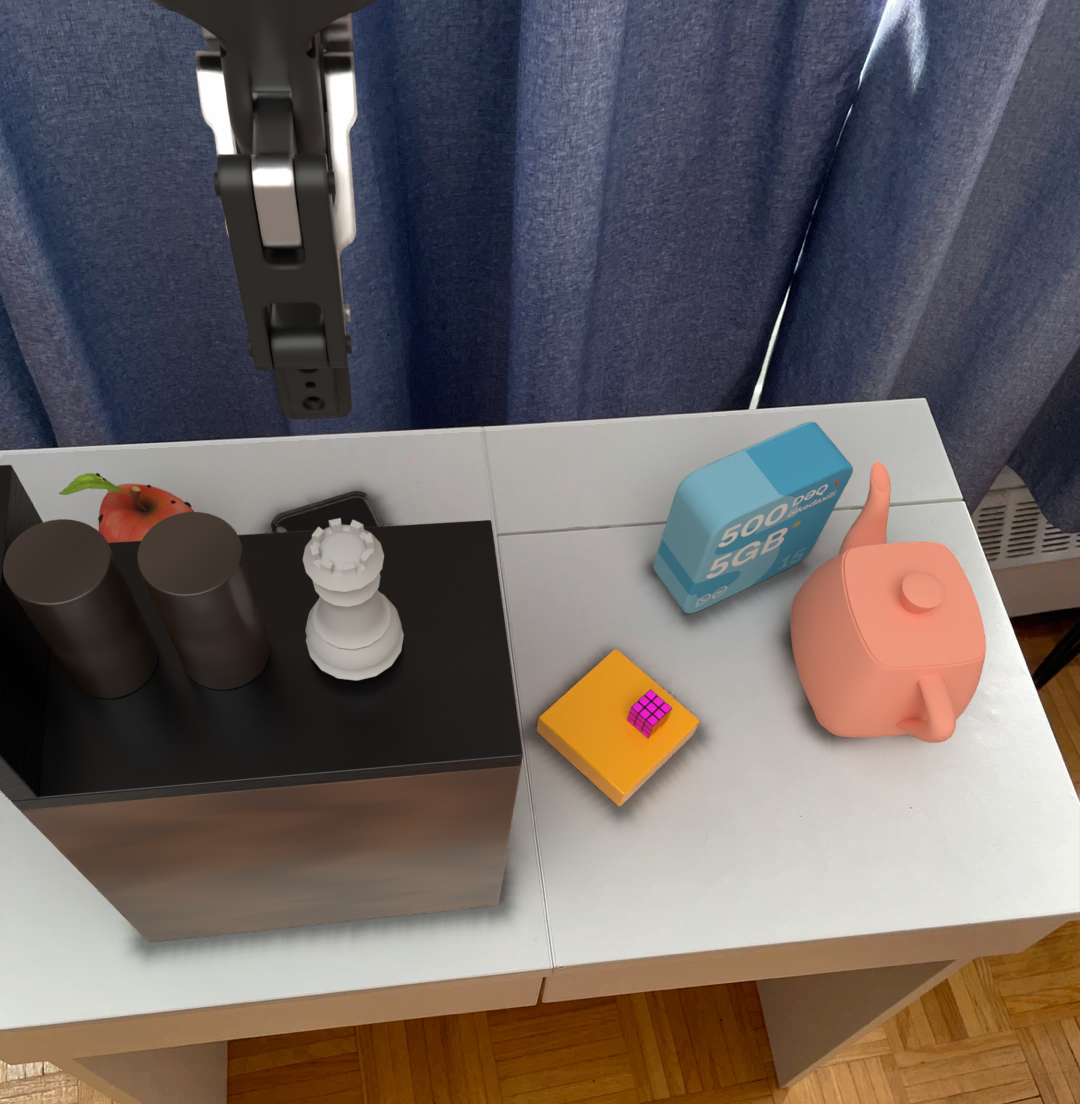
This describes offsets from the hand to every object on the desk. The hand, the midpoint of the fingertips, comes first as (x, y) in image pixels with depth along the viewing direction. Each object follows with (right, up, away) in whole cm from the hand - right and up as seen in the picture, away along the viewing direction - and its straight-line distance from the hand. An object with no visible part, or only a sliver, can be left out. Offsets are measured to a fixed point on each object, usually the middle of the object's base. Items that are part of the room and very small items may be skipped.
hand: (314, 311), depth 36 cm
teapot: (+31, -10, +44) cm, 55 cm away
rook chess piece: (-1, -10, +14) cm, 18 cm away
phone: (-6, -4, +44) cm, 44 cm away
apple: (-20, -3, +43) cm, 48 cm away
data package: (+22, -2, +47) cm, 52 cm away
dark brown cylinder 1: (-12, -11, +13) cm, 21 cm away
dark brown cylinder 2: (-7, -11, +13) cm, 18 cm away
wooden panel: (-7, -21, +35) cm, 42 cm away
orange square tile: (+13, -15, +40) cm, 45 cm away
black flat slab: (-5, -11, +15) cm, 19 cm away
